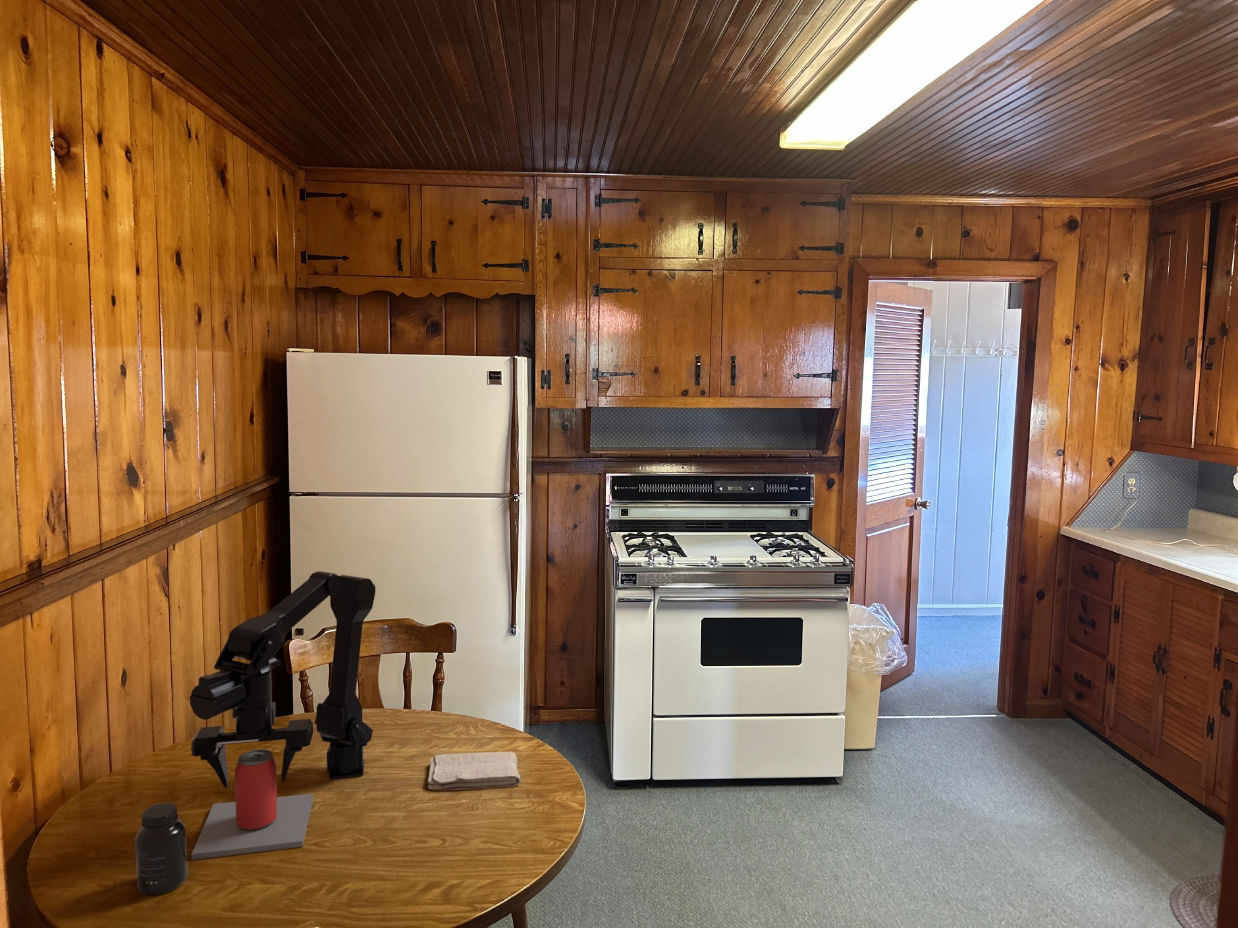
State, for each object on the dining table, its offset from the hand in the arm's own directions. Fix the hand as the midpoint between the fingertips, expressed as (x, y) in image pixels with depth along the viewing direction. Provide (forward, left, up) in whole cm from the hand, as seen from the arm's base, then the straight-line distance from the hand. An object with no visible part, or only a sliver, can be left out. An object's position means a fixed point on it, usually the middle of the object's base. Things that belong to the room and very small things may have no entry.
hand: (255, 783), depth 140 cm
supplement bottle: (+11, +13, -8) cm, 19 cm away
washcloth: (-39, -11, -9) cm, 41 cm away
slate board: (0, 0, -8) cm, 8 cm away
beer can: (0, 0, -7) cm, 7 cm away
